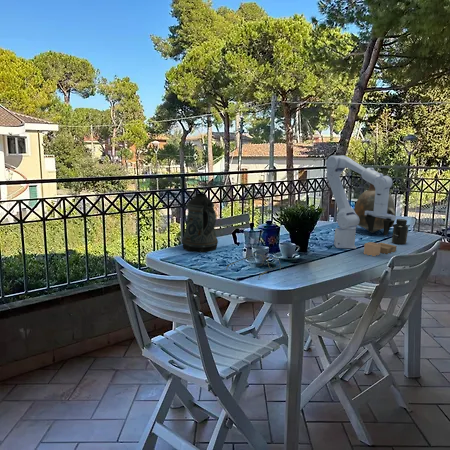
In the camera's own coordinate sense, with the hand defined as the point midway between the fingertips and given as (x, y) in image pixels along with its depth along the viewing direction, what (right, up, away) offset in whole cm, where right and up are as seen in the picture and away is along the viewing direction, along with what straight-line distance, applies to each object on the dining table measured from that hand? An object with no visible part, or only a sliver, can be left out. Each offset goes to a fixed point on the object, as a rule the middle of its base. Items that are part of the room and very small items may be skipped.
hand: (377, 233), depth 191 cm
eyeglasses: (-57, -15, -26) cm, 65 cm away
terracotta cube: (-3, -10, +1) cm, 10 cm away
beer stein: (-79, -7, +4) cm, 80 cm away
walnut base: (+5, -9, +7) cm, 12 cm away
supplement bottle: (+19, -6, +22) cm, 30 cm away
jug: (+13, -1, +45) cm, 46 cm away
